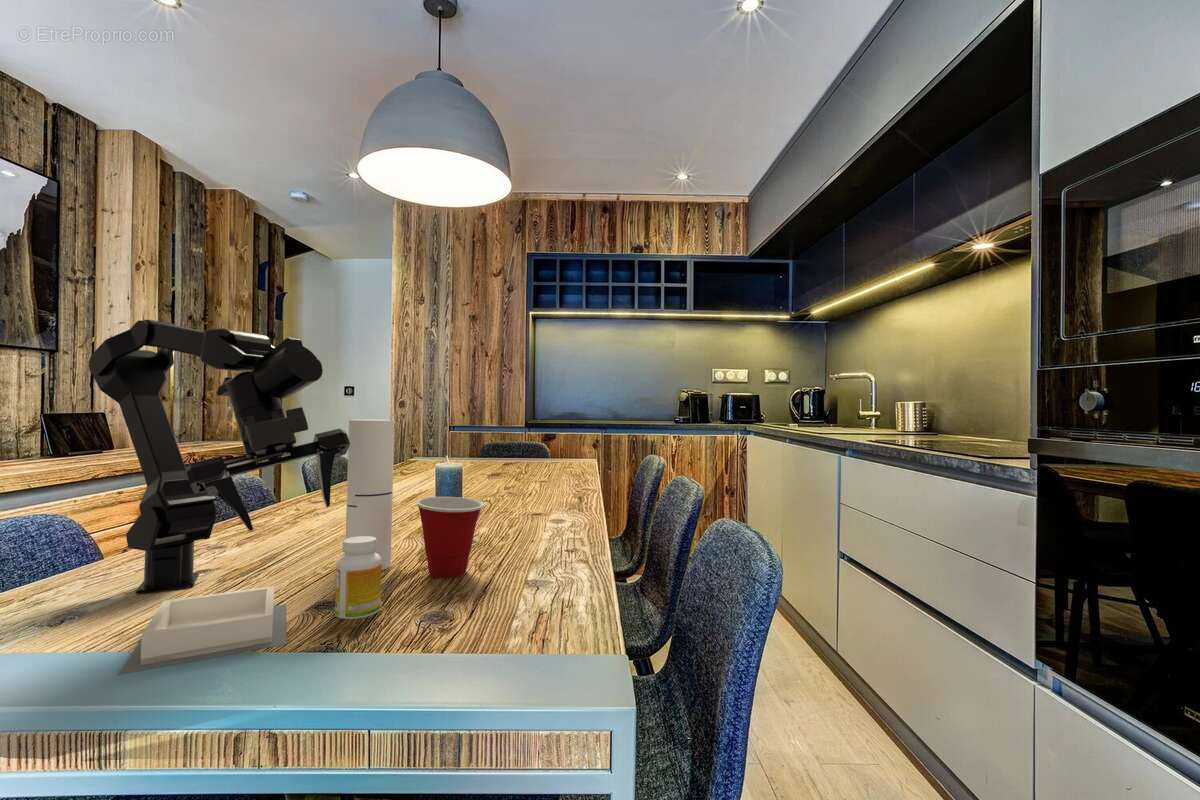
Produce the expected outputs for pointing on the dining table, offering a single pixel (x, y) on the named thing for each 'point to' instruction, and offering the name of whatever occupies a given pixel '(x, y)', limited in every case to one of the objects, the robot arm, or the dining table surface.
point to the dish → (208, 624)
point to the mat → (277, 639)
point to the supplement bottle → (358, 579)
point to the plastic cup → (448, 533)
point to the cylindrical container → (371, 483)
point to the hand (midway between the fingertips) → (291, 518)
